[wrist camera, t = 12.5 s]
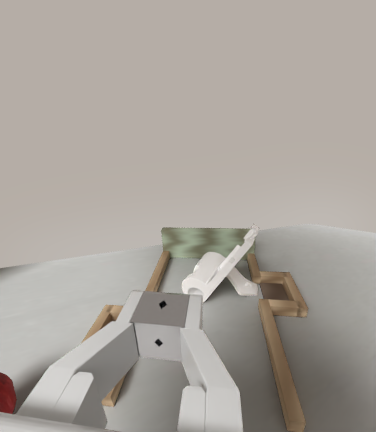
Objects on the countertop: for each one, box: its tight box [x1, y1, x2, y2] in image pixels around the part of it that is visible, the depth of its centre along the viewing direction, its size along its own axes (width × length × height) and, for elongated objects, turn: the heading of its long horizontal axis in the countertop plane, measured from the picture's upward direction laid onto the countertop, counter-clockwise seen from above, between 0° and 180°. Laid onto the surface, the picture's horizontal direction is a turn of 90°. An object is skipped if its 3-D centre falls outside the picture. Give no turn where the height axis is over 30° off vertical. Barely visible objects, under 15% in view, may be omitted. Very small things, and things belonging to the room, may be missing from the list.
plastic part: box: [182, 224, 259, 302], centre depth 30 cm, size 8×10×12 cm
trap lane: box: [82, 228, 308, 432], centre depth 29 cm, size 27×26×6 cm
